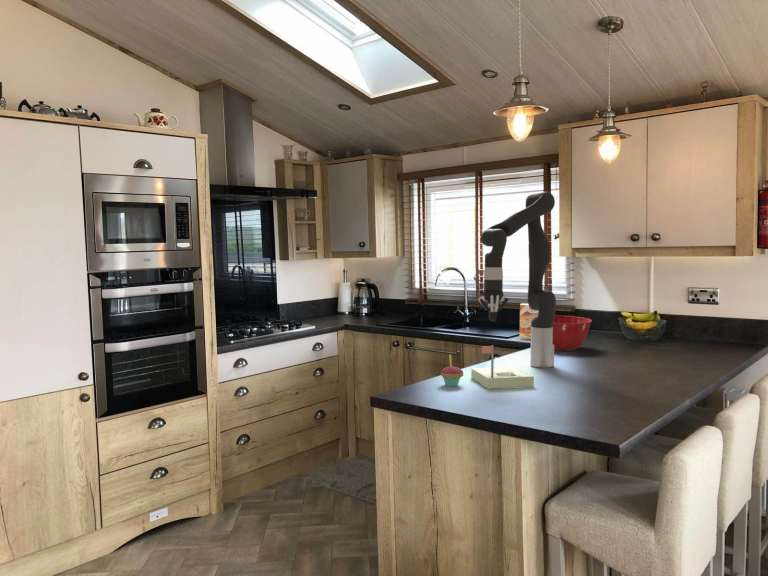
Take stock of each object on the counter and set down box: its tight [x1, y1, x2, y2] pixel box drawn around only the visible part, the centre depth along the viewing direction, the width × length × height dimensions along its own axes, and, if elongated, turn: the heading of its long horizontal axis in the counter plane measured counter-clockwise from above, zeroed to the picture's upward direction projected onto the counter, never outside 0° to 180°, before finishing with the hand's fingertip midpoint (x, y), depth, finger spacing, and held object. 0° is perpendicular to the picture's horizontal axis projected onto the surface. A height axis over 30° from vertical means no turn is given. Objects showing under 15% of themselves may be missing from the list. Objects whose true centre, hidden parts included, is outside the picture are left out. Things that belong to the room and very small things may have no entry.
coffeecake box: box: [519, 303, 538, 340], centre depth 350 cm, size 15×7×20 cm, turn 73°
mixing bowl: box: [533, 315, 592, 352], centre depth 317 cm, size 28×28×16 cm
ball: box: [499, 371, 512, 377], centre depth 238 cm, size 5×5×5 cm
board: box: [470, 345, 535, 390], centre depth 241 cm, size 20×19×16 cm
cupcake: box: [440, 354, 464, 387], centre depth 237 cm, size 9×8×12 cm
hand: (492, 320), depth 256 cm, fingers closed
